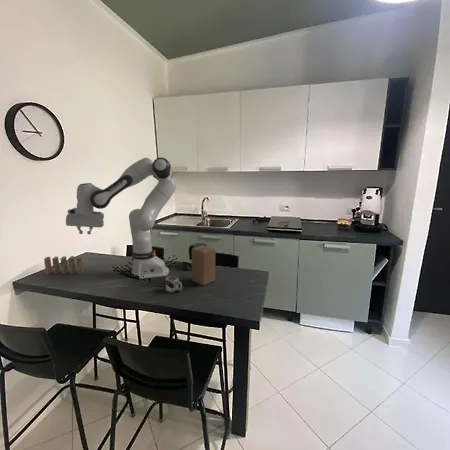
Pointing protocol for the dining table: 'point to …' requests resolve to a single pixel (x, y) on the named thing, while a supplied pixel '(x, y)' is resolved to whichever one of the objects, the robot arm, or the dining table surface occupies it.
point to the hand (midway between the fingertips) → (85, 233)
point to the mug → (173, 284)
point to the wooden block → (203, 265)
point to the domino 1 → (48, 265)
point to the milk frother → (191, 255)
